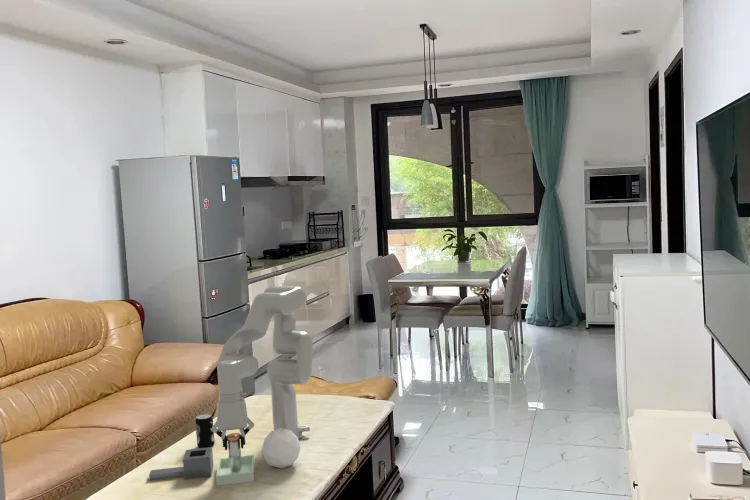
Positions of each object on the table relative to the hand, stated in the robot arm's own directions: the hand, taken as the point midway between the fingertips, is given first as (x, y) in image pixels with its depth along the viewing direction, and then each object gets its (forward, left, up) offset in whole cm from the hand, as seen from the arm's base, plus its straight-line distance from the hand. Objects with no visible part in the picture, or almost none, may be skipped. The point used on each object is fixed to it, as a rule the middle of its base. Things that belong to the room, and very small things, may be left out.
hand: (234, 447), depth 228 cm
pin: (0, 0, -8) cm, 8 cm away
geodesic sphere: (-16, -3, -10) cm, 19 cm away
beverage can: (+13, -30, -10) cm, 34 cm away
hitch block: (+19, -5, -10) cm, 22 cm away
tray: (0, 0, -10) cm, 10 cm away
